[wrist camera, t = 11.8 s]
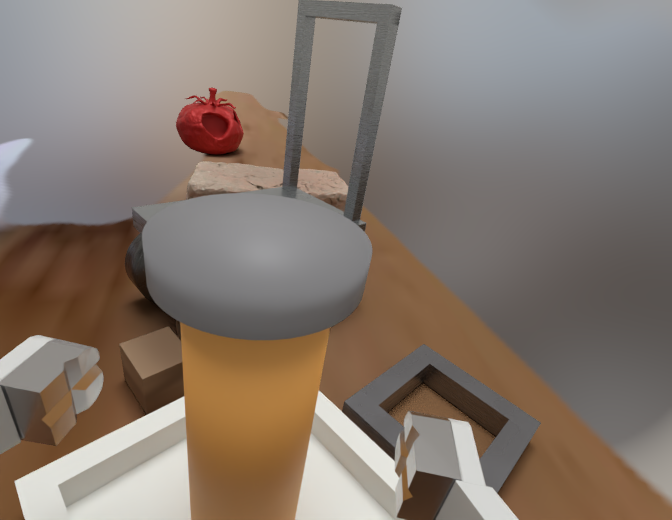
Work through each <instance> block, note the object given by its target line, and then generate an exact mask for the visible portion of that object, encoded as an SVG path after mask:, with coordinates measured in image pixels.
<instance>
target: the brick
mask: <svg viewBox="0 0 672 520" xmlns="http://www.w3.org/2000/svg"><path fill="white" fill-rule="evenodd" d="M283 173H284V170H282V169H274V168H269V167H257V166H253V165H247V164H239V163H230V164H226V163H224V162H220V163H214V162H210V161H209V162H200V163H199V164H197V166H196V167H195V171H194V174H193V175H192V177H191V178H190V181H189V183H188V187H187V195H186V200H188V199H192V198H196V197H201V196H208V195H216V194H229V193H241V192H248V191H255V190H263V189H270V188H277V187H282V185H283ZM297 188H298V189H300V190H302V191H304V192H306V193H308V194H310V195H312V196H314V197H316V198H318V199H320V200H322V201H324V202H326V203H328V204H330V205H332V206H334V207H336V208H337V209H339V210H341V211H343V212H344V210H345V204H346V198H347V193H348V186H347V185H346V183H345V182H344V181H343V180H342V179H341V178H340V177H339V176H338V174H337V173H336V172H329V171H323V170H312V169H299V174H298V184H297Z"/></svg>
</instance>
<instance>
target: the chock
mask: <svg viewBox="0 0 672 520" xmlns="http://www.w3.org/2000/svg"><path fill="white" fill-rule="evenodd" d="M119 345H120V352H121V358H122V364H123V371H124V377H125V380H126V382H127V384H128V385H129V387H130V389H131V390H132V392H133V394H134V395H135V397H136V398H137V400H138V402H139V403H140V405H141V407H142V408H143V410H144V411H145V413H146V415H148V414H150V413H152V412H154V411H156V410H158V409H160V408H162V407H164V406H166V405H168V404H170V403H172V402H174V401H176V400H178V399H180V398H182V397H184V381H183V363H182V344H181V341H180V339H179V338H178V337H177V336H176V335H175V333H174V332H173V331H172V330H171V329H170V327H169V326H168V327H165V328H162V329H160V330H157V331H154V332H151V333H148V334H146V335H143V336H140V337H137V338H135V339H132V340H129V341H126V342H124V343H121V344H119Z"/></svg>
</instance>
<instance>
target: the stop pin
mask: <svg viewBox="0 0 672 520" xmlns="http://www.w3.org/2000/svg"><path fill="white" fill-rule="evenodd" d="M142 243H143V253H144V263H145V272H146V282H147V288H148V291H149V293H150V295H151V297H152V298H153V300H154V302H155V303H156V304H157V305H158V306H159V307H160V308H161V309H162V310H163V311H164V312H166V313H167V314H168V315H170V316H171V317H172V318H174V319H176V320H178V321H180V326H181V344H182V363H183V381H184V399H185V418H186V436H187V455H188V473H189V491H190V510H191V520H295V516H296V510H297V505H298V500H299V494H300V489H301V483H302V478H303V472H304V467H305V462H306V456H307V451H308V445H309V440H310V435H311V429H312V424H313V418H314V413H315V407H316V402H317V397H318V391H319V386H320V380H321V375H322V370H323V364H324V359H325V353H326V348H327V342H328V337H329V332H330V327H332V326H334V325H336V324H337V323H339V322H341V321H343V320H344V319H345V318H346V317H348V316H349V315H350V314H351V313H352V312H353V311H354V310H355V309H356V308H357V306H358V305H359V303H360V301H361V299H362V296H363V292H364V288H365V283H366V279H367V274H368V270H369V266H370V261H371V257H372V245H371V242H370V240H369V238H368V236H367V235H366V233H365V232H364V231H363V230H362V229H361V228H360V227H359V226H358V225H357V224H355V223H354V222H352V221H351V220H350V219H348V218H346V217H344V216H343V215H341V214H339V213H337V212H335V211H333V210H330V209H328V208H325V207H322V206H319V205H316V204H313V203H310V202H306V201H302V200H298V199H293V198H288V197H282V196H275V195H267V194H252V193H229V194H216V195H208V196H201V197H196V198H192V199H188V200H184V201H181V202H178V203H175V204H173V205H170V206H168V207H166V208H164V209H162V210H160V211H159V212H157V213H156V214H155V215H153V216H152V217H151V218H150V219H149V220H148V221H147V223H146V225H145V226H144V228H143V232H142Z"/></svg>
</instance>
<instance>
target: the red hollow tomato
mask: <svg viewBox="0 0 672 520" xmlns="http://www.w3.org/2000/svg"><path fill="white" fill-rule="evenodd" d="M209 91H210V98H209V100H208V99H206V98H205V97H200V98H204V99H205V100H206V102H204V101H202V100H201V99H200V98H199V97H197V96H191V97H189V98H187V99H190V98H194V97H196V98H197V99H198V100H196V101H195V102H197V101H199V102H201V103H195V102H194V103H193V104H190V105H187V106H185V107H184V108H183V109H182V110H181V112H180V113H179V116H178V118H177V122H176V127H177V131H178V133H179V135H180V137H181V139H182V141H183V142H184V143H185V144H186V145H187V146H188V147H190V148H191V149H193V150H196V151H198V152H201V153H206V154H213V155H218V154H225V153H229V152H233V151H235V150H236V149H237V148H238V146H239V144H240V142H241V140H242V138H243V130H242V127H241V124H240V121H239V119H238V117H237V114H236V112H235V111H234V110H233V109H232V108H234V109H235V108H236V107H234V106H233V105H232V104H231V103H226V104H219V103H220V102H221V101H227V99H226V100H225V99H222V98H219V99H218V100H216V99H215V94H216V92H217V89H215V88H209ZM226 105H230V106H231V107H232V108H231V107H228V106H226Z"/></svg>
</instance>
